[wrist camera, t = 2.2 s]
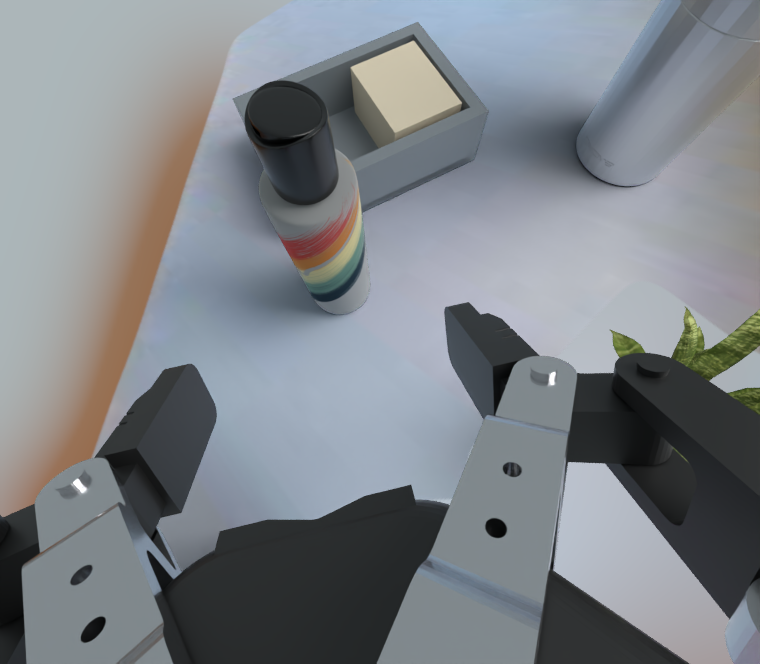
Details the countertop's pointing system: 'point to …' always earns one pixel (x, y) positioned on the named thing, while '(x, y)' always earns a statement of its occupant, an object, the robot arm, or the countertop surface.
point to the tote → (409, 154)
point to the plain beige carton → (400, 94)
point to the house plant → (709, 353)
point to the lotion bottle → (310, 193)
